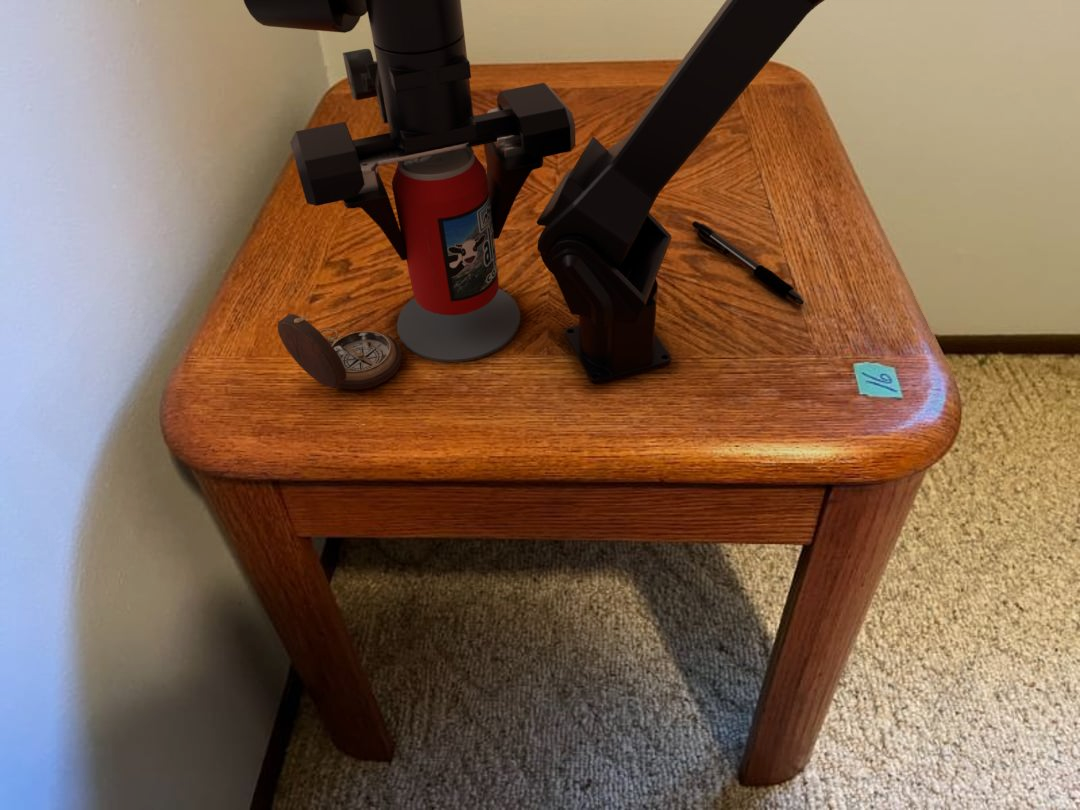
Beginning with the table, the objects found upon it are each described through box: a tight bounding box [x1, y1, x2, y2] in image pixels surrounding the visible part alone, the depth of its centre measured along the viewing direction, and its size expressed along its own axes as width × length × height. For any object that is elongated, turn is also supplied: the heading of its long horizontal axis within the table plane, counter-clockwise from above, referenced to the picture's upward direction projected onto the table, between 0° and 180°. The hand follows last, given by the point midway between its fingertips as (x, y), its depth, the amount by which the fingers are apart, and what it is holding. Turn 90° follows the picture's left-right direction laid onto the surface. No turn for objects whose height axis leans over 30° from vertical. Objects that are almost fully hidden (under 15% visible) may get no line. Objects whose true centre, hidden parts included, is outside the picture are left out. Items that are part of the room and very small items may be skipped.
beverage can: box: [391, 147, 500, 316], centre depth 63 cm, size 7×7×12 cm
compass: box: [277, 312, 403, 390], centre depth 63 cm, size 8×8×7 cm
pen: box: [691, 220, 805, 305], centre depth 72 cm, size 14×2×1 cm, turn 30°
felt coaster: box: [396, 288, 521, 363], centre depth 69 cm, size 10×10×1 cm
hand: (449, 246), depth 64 cm, fingers closed on beverage can, 7 cm apart
